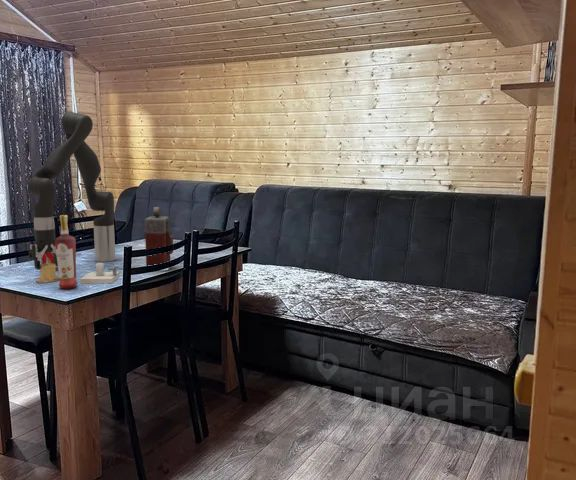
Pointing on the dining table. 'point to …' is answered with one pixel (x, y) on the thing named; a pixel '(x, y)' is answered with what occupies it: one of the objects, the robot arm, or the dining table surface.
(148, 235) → the glass decanter
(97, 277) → the bayonet post
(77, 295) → the dining table surface
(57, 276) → the coaster
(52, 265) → the cap
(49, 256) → the soda can
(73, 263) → the liquor
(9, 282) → the dining table surface
